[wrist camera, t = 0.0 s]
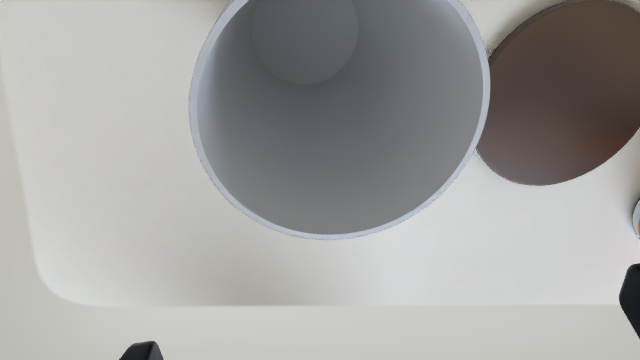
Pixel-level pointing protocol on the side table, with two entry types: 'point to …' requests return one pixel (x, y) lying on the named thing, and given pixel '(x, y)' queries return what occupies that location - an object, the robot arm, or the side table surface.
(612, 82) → the coaster
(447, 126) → the cup
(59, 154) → the side table surface
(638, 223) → the pill bottle
